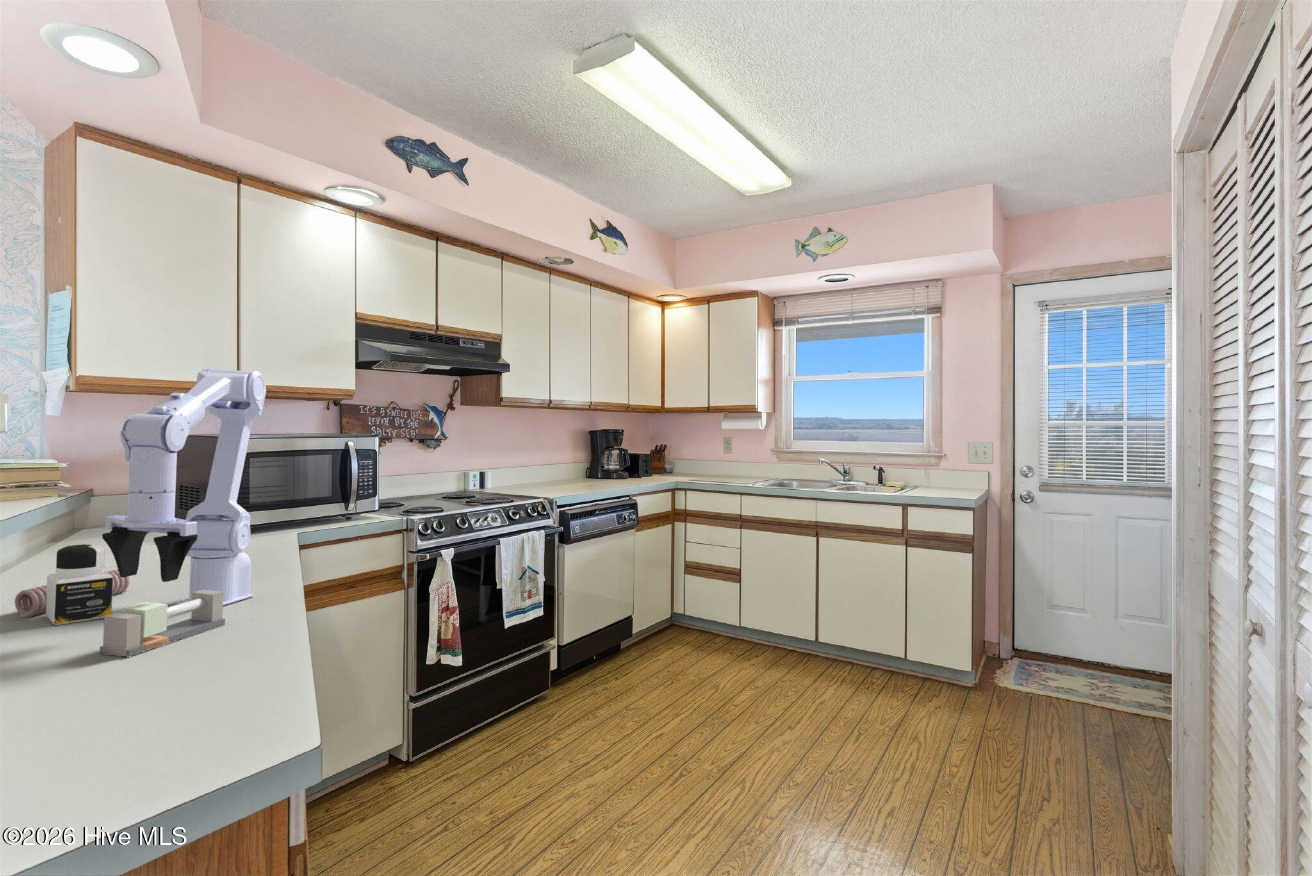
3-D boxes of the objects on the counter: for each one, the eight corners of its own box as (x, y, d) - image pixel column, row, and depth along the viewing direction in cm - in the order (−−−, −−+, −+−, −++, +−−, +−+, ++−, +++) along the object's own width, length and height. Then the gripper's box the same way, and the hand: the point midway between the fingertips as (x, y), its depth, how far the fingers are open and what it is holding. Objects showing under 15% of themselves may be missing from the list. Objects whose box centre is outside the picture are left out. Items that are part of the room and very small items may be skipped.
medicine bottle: (54, 626, 100) (57, 551, 100) (45, 616, 104) (48, 545, 104) (111, 617, 106) (115, 546, 106) (101, 608, 110) (104, 540, 110)
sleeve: (144, 627, 96) (145, 601, 96) (166, 630, 95) (167, 604, 95) (121, 634, 92) (122, 607, 92) (143, 637, 91) (145, 610, 91)
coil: (35, 593, 103) (136, 570, 121) (10, 588, 103) (114, 566, 121) (31, 621, 103) (132, 594, 121) (6, 616, 103) (111, 589, 121)
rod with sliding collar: (199, 621, 105) (200, 589, 105) (224, 624, 105) (226, 592, 105) (99, 653, 90) (101, 615, 90) (128, 657, 89) (130, 619, 89)
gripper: (86, 490, 94) (82, 579, 94) (168, 497, 92) (164, 588, 92) (132, 486, 101) (129, 569, 101) (209, 492, 99) (206, 577, 99)
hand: (149, 578), depth 97 cm, fingers open, 7 cm apart
